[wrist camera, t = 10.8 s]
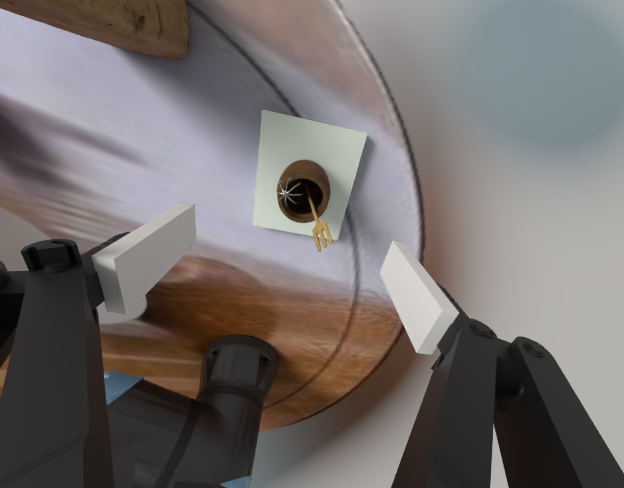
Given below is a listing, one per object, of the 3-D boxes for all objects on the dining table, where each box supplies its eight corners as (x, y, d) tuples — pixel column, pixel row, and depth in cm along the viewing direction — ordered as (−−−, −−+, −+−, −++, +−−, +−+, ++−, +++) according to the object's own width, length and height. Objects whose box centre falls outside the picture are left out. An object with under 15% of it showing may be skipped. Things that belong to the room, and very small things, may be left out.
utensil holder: (307, 146, 27) (304, 163, 16) (339, 188, 29) (355, 227, 18) (271, 179, 28) (246, 213, 18) (303, 216, 31) (299, 266, 20)
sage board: (335, 234, 34) (337, 240, 32) (255, 219, 33) (252, 225, 31) (364, 132, 28) (367, 133, 26) (265, 110, 27) (262, 109, 25)
